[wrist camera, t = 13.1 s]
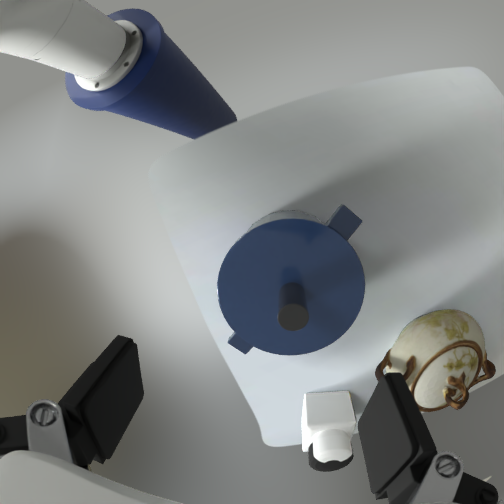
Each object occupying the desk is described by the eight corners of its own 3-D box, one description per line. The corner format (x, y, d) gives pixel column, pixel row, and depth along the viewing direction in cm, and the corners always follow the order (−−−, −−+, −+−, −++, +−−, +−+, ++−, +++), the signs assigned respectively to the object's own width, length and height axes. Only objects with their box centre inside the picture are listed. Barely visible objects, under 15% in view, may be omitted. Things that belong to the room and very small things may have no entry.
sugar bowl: (347, 378, 38) (366, 457, 23) (373, 287, 34) (420, 355, 19) (449, 374, 36) (486, 431, 22) (481, 294, 32) (539, 342, 18)
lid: (193, 298, 28) (174, 326, 22) (278, 184, 24) (277, 187, 19) (299, 369, 29) (301, 405, 23) (388, 276, 25) (411, 300, 20)
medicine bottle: (342, 418, 40) (352, 473, 29) (301, 420, 41) (302, 477, 29) (349, 389, 38) (363, 448, 27) (304, 391, 39) (307, 453, 28)
